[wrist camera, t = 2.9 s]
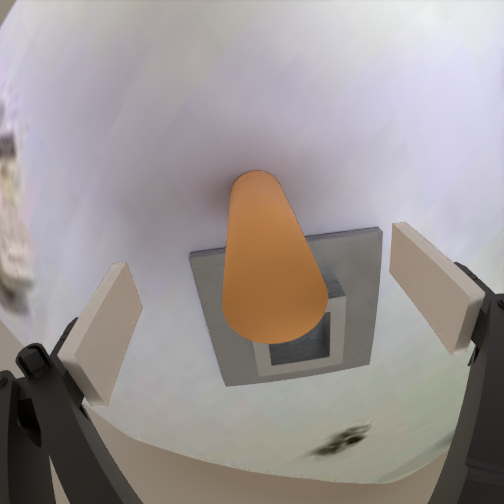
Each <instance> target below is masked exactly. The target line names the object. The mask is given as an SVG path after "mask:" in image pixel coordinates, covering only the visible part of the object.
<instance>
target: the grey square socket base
mask: <svg viewBox="0 0 504 504" xmlns="http://www.w3.org/2000/svg"><path fill="white" fill-rule="evenodd" d="M382 236H383V232H382V230H381V229H380V228H379V227H375V228H367V229H360V230H352V231H345V232H337V233H330V234H322V235H315V236H308V237H305V239H306V241H307V243H308V245H309V248H310V250H311V252H312V254H313V257H314V259H315V261H316V263H317V266H318V268H319V270H320V273H321V275H322V277H323V279H324V282H325V284H326V287H327V291H328V303H327V308H326V310H325V313H324V315H323V317H322V318H321V320H320V321H319V322H318V324H317V325H316V326H315V327H314V328H313V329H311V330H310V331H309V332H308V333H306V334H305V335H303V336H301V337H299V338H297V339H294V340H291V341H288V342H284V343H276V344H266V343H259V342H255V341H251V340H249V339H247V338H244V337H243V336H241V335H239V334H238V333H237V332H235V331H234V330H233V329H232V328H231V327H230V325H229V324H228V322H227V321H226V319H225V317H224V313H223V309H222V295H223V281H224V268H225V255H226V248H221V249H214V250H207V251H200V252H193V253H191V255H190V262H191V266H192V270H193V274H194V278H195V282H196V286H197V289H198V293H199V297H200V300H201V304H202V308H203V311H204V315H205V319H206V322H207V326H208V329H209V333H210V336H211V340H212V343H213V346H214V350H215V353H216V356H217V360H218V363H219V366H220V370H221V373H222V376H223V379H224V382H225V386H226V387H227V386H237V385H247V384H256V383H265V382H273V381H280V380H287V379H294V378H300V377H307V376H313V375H318V374H324V373H330V372H335V371H340V370H345V369H350V368H355V367H360V366H364V365H369V363H370V357H371V350H372V343H373V336H374V329H375V321H376V312H377V303H378V293H379V282H380V270H381V255H382Z"/></svg>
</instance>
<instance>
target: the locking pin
mask: <svg viewBox="0 0 504 504" xmlns="http://www.w3.org/2000/svg"><path fill="white" fill-rule="evenodd" d="M327 303H328V291H327V287H326V284H325V282H324V279H323V277H322V275H321V273H320V270H319V268H318V266H317V263H316V261H315V259H314V257H313V254H312V252H311V250H310V248H309V245H308V243H307V241H306V239H305V237H304V234H303V232H302V230H301V228H300V226H299V223H298V221H297V219H296V217H295V215H294V213H293V211H292V208H291V206H290V204H289V202H288V200H287V198H286V196H285V194H284V192H283V189H282V187H281V185H280V183H279V182H278V180H277V179H276V178H275V177H274V176H273V175H271V174H269V173H267V172H264V171H257V170H256V171H250V172H247V173H245V174H243V175H241V176H240V177H239V178H238V179H237V180H236V181H235V183H234V184H233V186H232V189H231V195H230V206H229V218H228V230H227V242H226V255H225V268H224V281H223V295H222V309H223V313H224V317H225V319H226V321H227V322H228V324H229V325H230V327H231V328H232V329H233V330H234V331H235V332H237V333H238V334H239V335H241V336H243V337H244V338H247V339H249V340H251V341H255V342H259V343H266V344H276V343H284V342H288V341H291V340H294V339H297V338H299V337H301V336H303V335H305V334H306V333H308V332H309V331H310V330H311V329H313V328H314V327H315V326H316V325H317V324H318V322H319V321H320V320H321V318H322V317H323V315H324V313H325V310H326V308H327Z"/></svg>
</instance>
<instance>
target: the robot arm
mask: <svg viewBox="0 0 504 504" xmlns="http://www.w3.org/2000/svg"><path fill="white" fill-rule="evenodd" d="M389 272H390V273H391V275H392V276H393V277H394V278H395V280H396V281H397V282H398V284H399V285H400V286H401V287H402V289H403V290H404V291H405V293H406V294H407V295H408V296H409V298H410V299H411V300H412V302H413V303H414V304H415V306H416V307H417V308H418V310H419V311H420V312H421V314H422V315H423V316H424V318H425V319H426V320H427V322H428V323H429V325H430V326H431V327H432V329H433V330H434V332H435V333H436V334H437V336H438V337H439V339H440V340H441V341H442V343H443V344H444V346H445V347H446V349H447V350H448V352H449V353H450V354H451V356H454V355H457V354H460V353H463V352H465V351H467V348H468V346H469V343H470V340H472V341H473V342H474V344H475V345H476V346H475V348H474V351H473V353H472V356H471V358H470V361H469V363H468V366H470V365H471V367H470V372H469V377H468V382H467V387H466V391H465V396H464V400H463V404H462V408H461V412H460V416H459V419H458V423H457V426H456V430H455V433H454V436H453V440H452V443H451V446H450V449H449V452H448V455H447V458H446V461H445V463H444V466H443V469H442V471H441V474H440V477H439V479H438V482H437V484H436V487H435V489H434V492H433V494H432V496H431V498H430V500H429V502H428V504H504V294H495V293H494V292H493V291H492V290H491V289H490V288H489V287H487V286H486V285H485V284H484V283H483V282H482V281H481V280H480V279H478V277H477V276H476V275H475V274H473V273H472V272H471V271H470V270H469V269H468V268H467V267H466V266H464V265H462V264H460V263H458V262H454V263H453V262H452V261H451V260H450V259H449V258H448V257H447V256H445V255H444V254H443V253H442V252H441V251H440V250H439V249H437V248H436V247H435V246H434V245H433V244H432V243H431V242H429V241H428V240H427V239H426V238H425V237H423V236H422V235H421V234H420V233H419V232H417V231H416V230H415V229H414V228H413V227H411V226H410V225H409V224H408V223H406V222H400V223H392V241H391V257H390V270H389ZM142 308H143V307H142V304H141V301H140V298H139V296H138V293H137V290H136V287H135V285H134V282H133V279H132V276H131V273H130V270H129V267H128V264H127V262H121V263H114V264H113V265H112V266H111V268H110V269H109V271H108V272H107V274H106V275H105V277H104V278H103V280H102V281H101V283H100V284H99V286H98V288H97V289H96V291H95V292H94V294H93V295H92V297H91V299H90V300H89V302H88V303H87V305H86V307H85V308H84V310H83V311H82V313H81V315H80V316H79V317H77V318H75V319H74V320H73V321H72V322H71V323H69V324H68V326H67V327H66V329H65V331H64V332H63V334H62V336H61V337H60V339H59V340H60V341H58V342H57V344H56V346H55V347H54V349H53V351H52V353H51V354H50V356H49V355H48V353H47V352H46V350H45V348H44V347H43V345H42V344H39V343H33V344H30V345H28V346H26V347H25V348H23V349H22V350H21V351H20V352H19V353H18V355H17V357H16V364H17V365H18V367H19V368H20V369H21V371H22V372H23V374H24V375H25V377H22V378H18V379H16V378H15V377H14V375H13V374H12V373H11V372H10V371H8V370H5V371H1V372H0V504H56V500H55V495H54V489H53V483H52V476H51V469H50V460H49V455H50V458H51V461H52V463H53V466H54V468H55V471H56V473H57V476H58V478H59V480H60V483H61V485H62V487H63V489H64V492H65V494H66V496H67V498H68V500H69V502H70V504H143V503H142V501H141V500H140V499H139V497H138V496H137V494H136V493H135V492H134V490H133V489H132V487H131V486H130V484H129V483H128V481H127V480H126V478H125V477H124V475H123V474H122V472H121V471H120V469H119V468H118V466H117V464H116V463H115V461H114V460H113V458H112V456H111V455H110V453H109V452H108V450H107V448H106V446H105V445H104V443H103V441H102V439H101V438H100V436H99V434H98V432H97V430H96V428H95V427H94V425H93V423H92V421H91V419H90V417H89V415H88V413H87V411H86V409H85V408H84V407H83V405H82V404H81V403H82V401H83V398H84V397H85V398H86V399H87V401H88V402H89V403H90V405H91V406H104V407H107V406H108V403H109V400H110V397H111V394H112V391H113V388H114V385H115V382H116V379H117V376H118V373H119V370H120V367H121V365H122V362H123V359H124V356H125V353H126V351H127V348H128V345H129V342H130V340H131V337H132V334H133V332H134V329H135V326H136V324H137V321H138V319H139V316H140V313H141V311H142Z"/></svg>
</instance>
